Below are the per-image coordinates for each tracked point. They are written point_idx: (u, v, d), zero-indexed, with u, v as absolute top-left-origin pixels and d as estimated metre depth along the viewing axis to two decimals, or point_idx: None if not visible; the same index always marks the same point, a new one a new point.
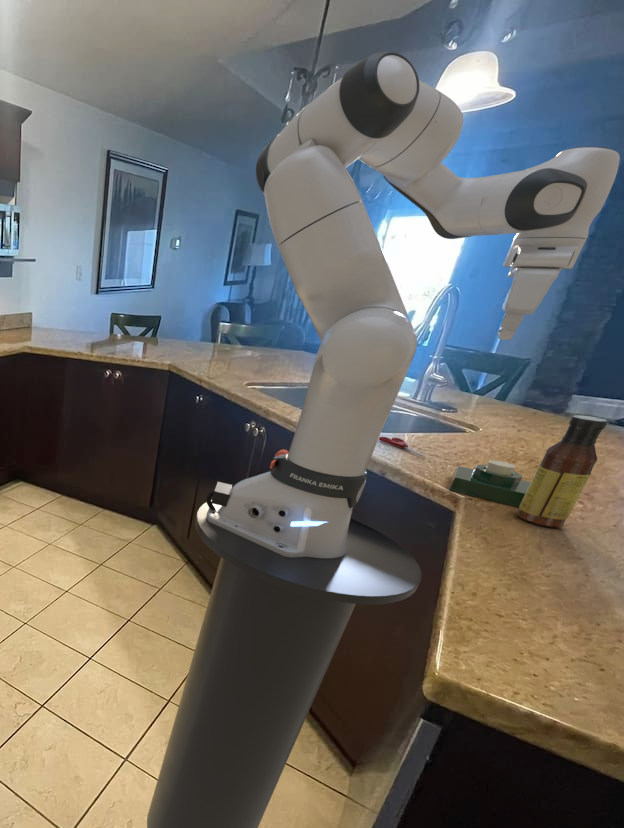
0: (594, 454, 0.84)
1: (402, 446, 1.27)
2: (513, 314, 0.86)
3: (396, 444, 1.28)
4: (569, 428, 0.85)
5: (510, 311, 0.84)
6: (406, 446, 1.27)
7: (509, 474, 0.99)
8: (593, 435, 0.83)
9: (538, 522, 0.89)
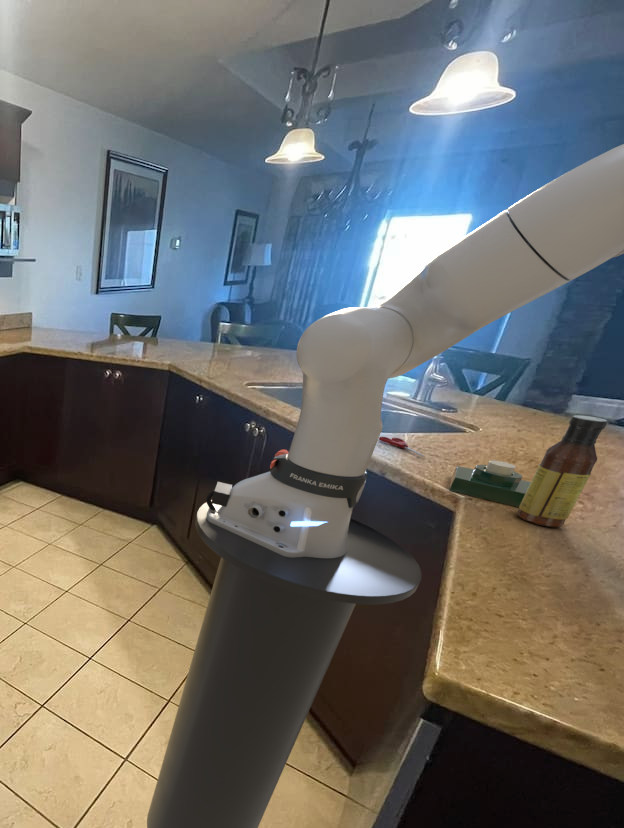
0: (594, 454, 0.84)
1: (402, 446, 1.27)
2: None
3: (396, 444, 1.28)
4: (569, 428, 0.85)
5: None
6: (406, 446, 1.27)
7: (509, 474, 0.99)
8: (593, 435, 0.83)
9: (538, 522, 0.89)
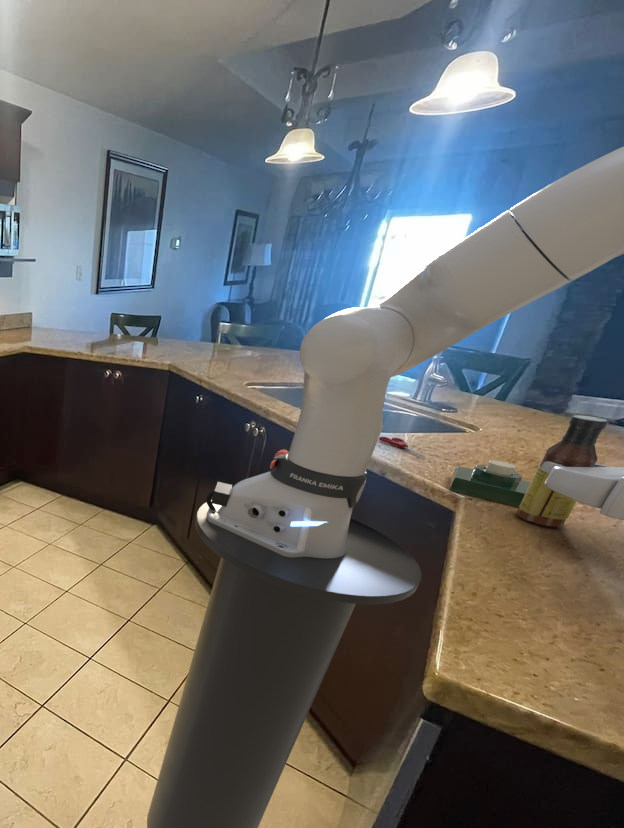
0: (594, 454, 0.84)
1: (402, 446, 1.27)
2: None
3: (396, 444, 1.28)
4: (569, 428, 0.85)
5: (551, 470, 0.81)
6: (406, 446, 1.27)
7: (509, 474, 0.99)
8: (593, 435, 0.83)
9: (538, 522, 0.89)
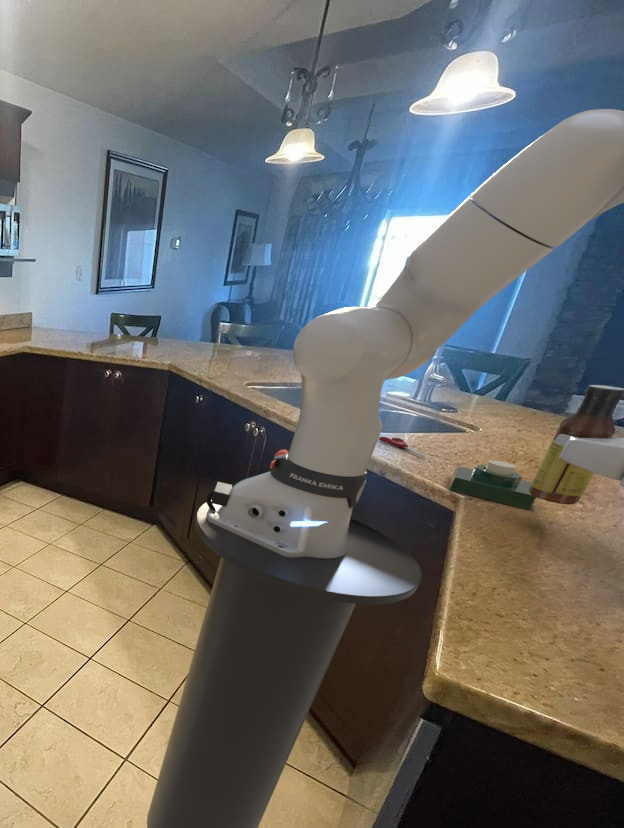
0: (612, 425, 0.79)
1: (402, 446, 1.27)
2: None
3: (396, 444, 1.28)
4: (585, 398, 0.80)
5: (567, 442, 0.77)
6: (406, 446, 1.27)
7: (509, 474, 0.99)
8: (611, 405, 0.78)
9: (552, 499, 0.84)
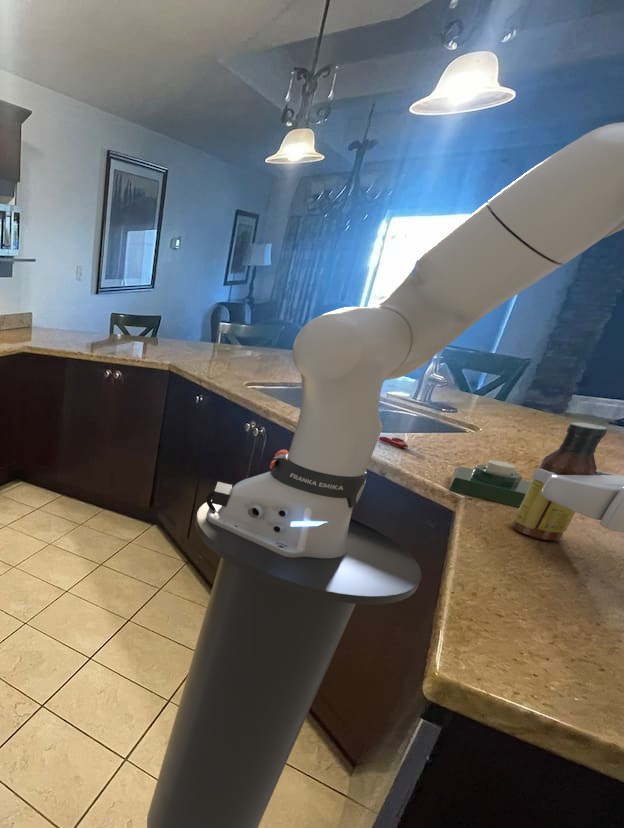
0: (593, 464, 0.79)
1: (402, 446, 1.27)
2: None
3: (396, 444, 1.28)
4: (567, 436, 0.80)
5: (548, 479, 0.77)
6: (406, 446, 1.27)
7: (509, 474, 0.99)
8: (592, 444, 0.78)
9: (535, 535, 0.84)
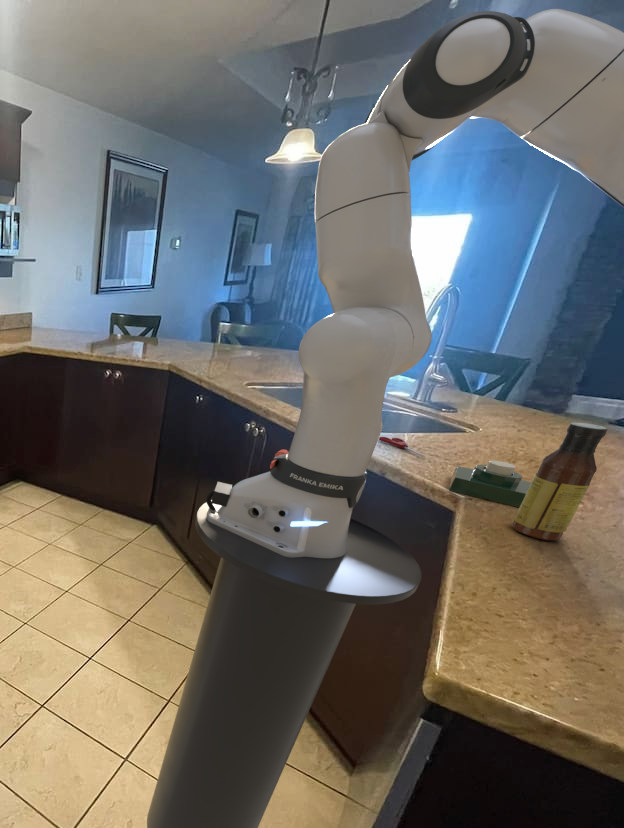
0: (593, 464, 0.79)
1: (402, 446, 1.27)
2: None
3: (396, 444, 1.28)
4: (567, 436, 0.80)
5: None
6: (406, 446, 1.27)
7: (509, 474, 0.99)
8: (592, 444, 0.78)
9: (535, 535, 0.84)
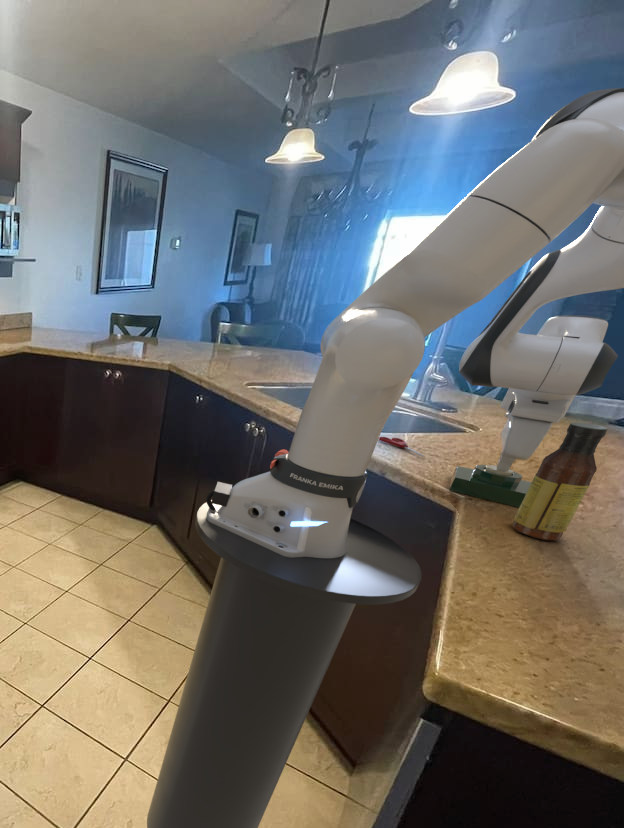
0: (593, 464, 0.79)
1: (402, 446, 1.27)
2: None
3: (396, 444, 1.28)
4: (567, 436, 0.80)
5: (507, 455, 0.92)
6: (406, 446, 1.27)
7: None
8: (592, 444, 0.78)
9: (535, 535, 0.84)
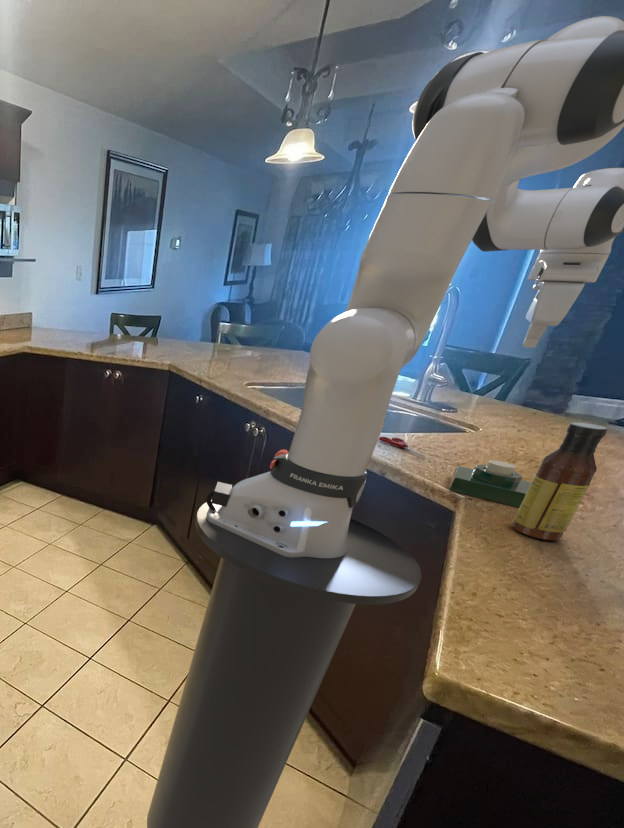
0: (593, 464, 0.79)
1: (402, 446, 1.27)
2: (537, 324, 0.93)
3: (396, 444, 1.28)
4: (567, 436, 0.80)
5: (536, 323, 0.89)
6: (406, 446, 1.27)
7: (509, 474, 0.99)
8: (592, 444, 0.78)
9: (535, 535, 0.84)
